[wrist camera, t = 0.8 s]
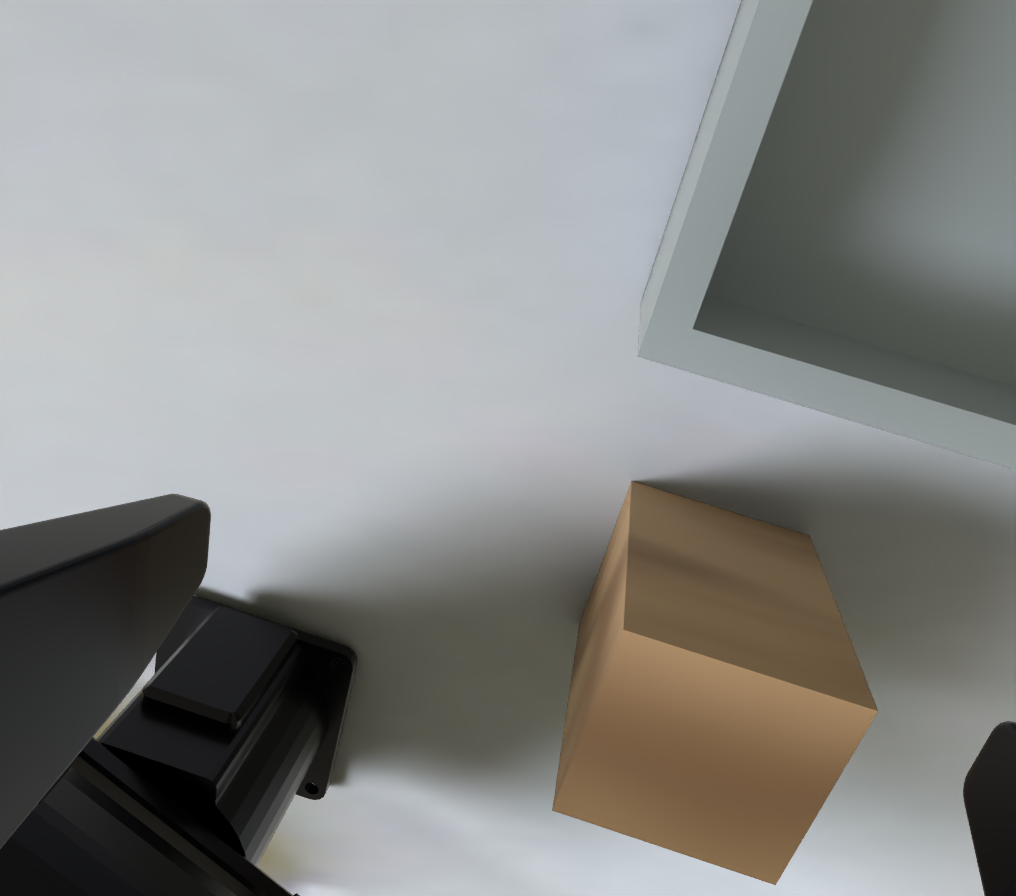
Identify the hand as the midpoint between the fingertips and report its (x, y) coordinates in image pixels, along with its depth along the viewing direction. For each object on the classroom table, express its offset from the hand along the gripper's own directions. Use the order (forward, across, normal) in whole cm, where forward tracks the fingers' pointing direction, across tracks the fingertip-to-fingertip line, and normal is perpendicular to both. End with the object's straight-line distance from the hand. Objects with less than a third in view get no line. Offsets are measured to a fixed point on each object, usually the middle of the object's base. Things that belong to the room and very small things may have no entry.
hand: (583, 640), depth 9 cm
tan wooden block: (+13, -4, +6) cm, 14 cm away
